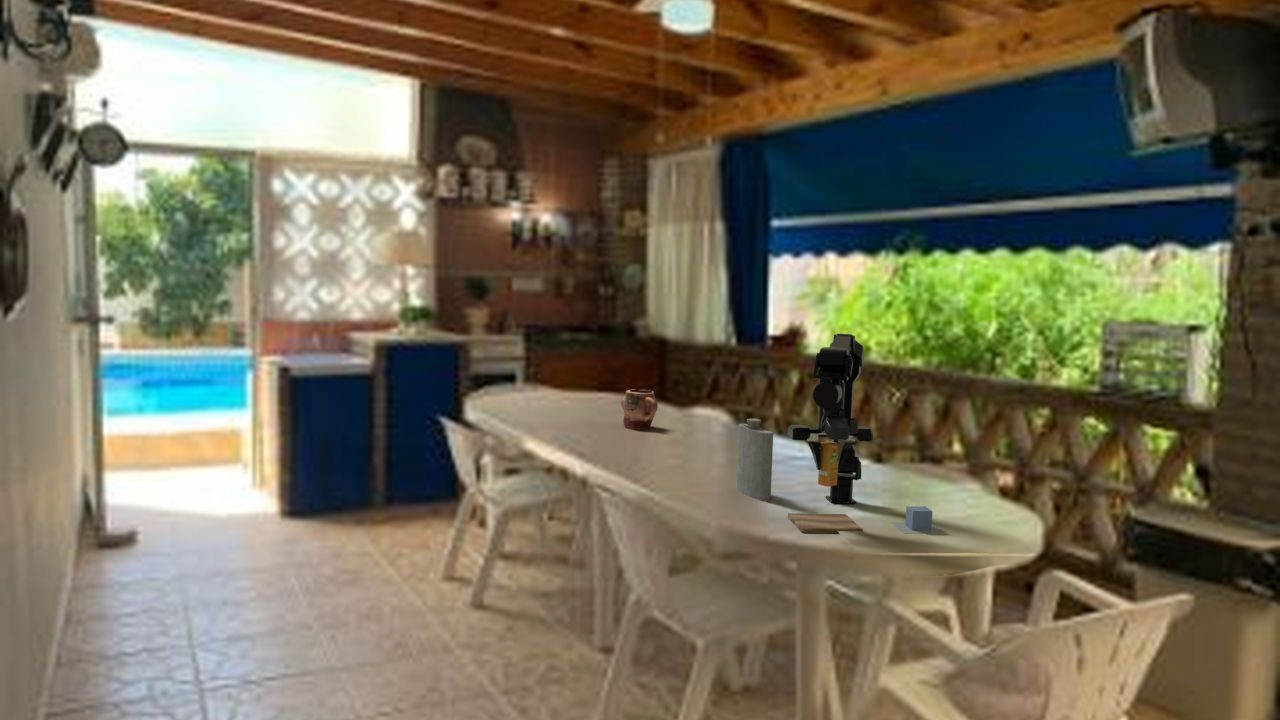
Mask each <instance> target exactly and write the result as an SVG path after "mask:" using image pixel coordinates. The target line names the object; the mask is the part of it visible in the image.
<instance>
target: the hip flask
mask: <svg viewBox="0 0 1280 720" xmlns="http://www.w3.org/2000/svg"><path fill="white" fill-rule="evenodd" d="M761 420H762V419H760V418H759V419H758V418H747V419H746V423H739V424H738V441H737V442H738V443H737V446H738V447H737V466H736V468H737V470H736V471H737V472H736V490H737V491H739V492H740V493H742V494H744V495H746V496H748V497H750V498H752V499H756V500H758V501H763V502H769V501H771V497H772V496H771V494H772V476H773V475H772V472H773V451H774V450H773V449H774V447H773V445H774V432H773V431H770V430H765V429H761V428H760V427H761V425H760V424H761V423H762V421H761Z"/></svg>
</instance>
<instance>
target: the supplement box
mask: <svg viewBox="0 0 1280 720" xmlns="http://www.w3.org/2000/svg"><path fill="white" fill-rule="evenodd" d="M820 442H821V445H820V470H818V474H817V475H818V476H817V477H818V478H817V479H818V480H817V484H818V485H821V486H824V487H828V488H830V486H835V485H837V475H838V459H839V444H838V443H835V442H833V441H832V440H829V441H820Z"/></svg>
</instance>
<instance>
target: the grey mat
mask: <svg viewBox="0 0 1280 720" xmlns="http://www.w3.org/2000/svg"><path fill="white" fill-rule="evenodd" d="M889 523H890V524H892V525H893V526H894V527H895V528H896V529H898V530H899V531H900V532H901V533H903V534H906V535H907V534H909V535H910V534H913V535H916V534H917V535H918V534H919V535H921V534H922V535H923V534H924V535H948V533H947V532H946V531H944V530H943V529H942V528H940V527H939V526H937V525H935V524H934V523H933V522H932V527H931V531H927V530H911V529H910V528H908V527H907V526H906V525H905V524H906V521H905V522H904V521H903V522H901V521H900V522H897V521H896V522H894V521H892V522H891V521H890V522H889Z"/></svg>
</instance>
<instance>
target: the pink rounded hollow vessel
mask: <svg viewBox="0 0 1280 720" xmlns="http://www.w3.org/2000/svg"><path fill="white" fill-rule="evenodd" d="M624 394H625V395H624V397H623V398H622V400H621V401H620V406H621V408H622V409H623V412H624V413H623V425H624V428H627V429H630V430H645V429H649V428H651V427H652V422H653V420H654V418H655V415H656V413H657V411H658V408H659V407H658V401H657V399H656V397H655V393H654V391H653V390H651V389H638V388H637V389H636V388H635V389H634V388H633V389H629V390H626V391H625V393H624Z"/></svg>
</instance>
